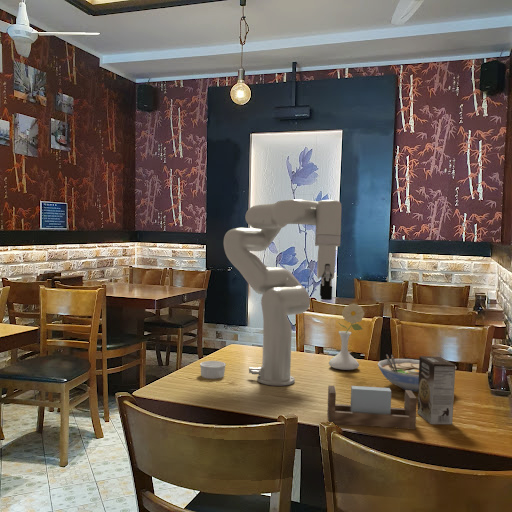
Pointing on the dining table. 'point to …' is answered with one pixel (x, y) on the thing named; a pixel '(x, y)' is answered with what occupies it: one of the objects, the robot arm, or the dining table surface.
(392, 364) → the ramen bowl
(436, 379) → the coffee box
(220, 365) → the ramekin
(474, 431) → the dining table surface
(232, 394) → the dining table surface
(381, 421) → the frame
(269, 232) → the robot arm
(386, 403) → the light grey rectangular block
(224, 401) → the dining table surface
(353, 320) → the flower in vase
